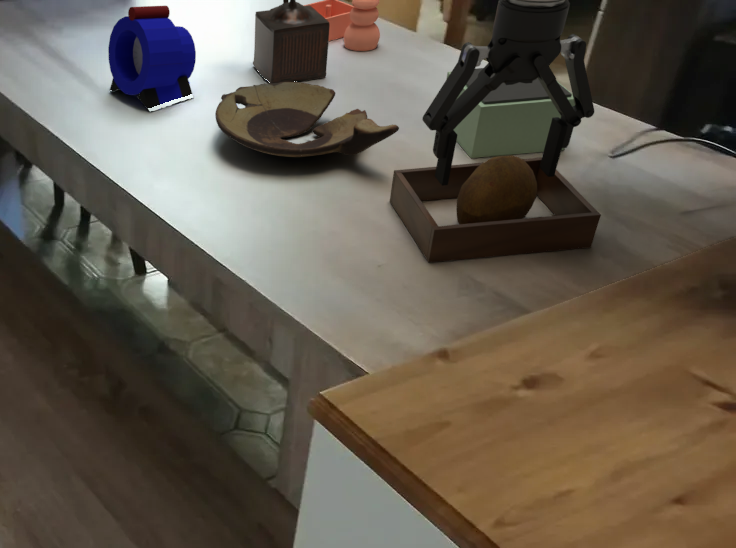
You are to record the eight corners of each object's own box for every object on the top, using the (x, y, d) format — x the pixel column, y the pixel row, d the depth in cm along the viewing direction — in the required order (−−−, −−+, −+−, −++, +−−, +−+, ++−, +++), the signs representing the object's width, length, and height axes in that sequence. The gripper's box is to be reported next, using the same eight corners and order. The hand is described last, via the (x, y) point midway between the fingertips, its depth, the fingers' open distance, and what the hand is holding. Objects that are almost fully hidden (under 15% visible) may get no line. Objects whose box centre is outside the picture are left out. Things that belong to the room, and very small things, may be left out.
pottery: (292, 30, 181) (295, -24, 174) (330, 20, 184) (335, -34, 177) (351, 56, 169) (357, -2, 162) (391, 45, 172) (399, -12, 165)
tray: (591, 247, 115) (601, 214, 112) (428, 262, 115) (434, 229, 112) (536, 187, 128) (544, 156, 125) (389, 201, 127) (393, 170, 124)
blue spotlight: (106, 93, 162) (99, 1, 152) (162, 75, 166) (160, -14, 156) (146, 113, 154) (142, 18, 144) (204, 94, 159) (204, 1, 149)
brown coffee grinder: (305, 57, 170) (312, -51, 158) (327, 78, 161) (336, -35, 149) (223, 68, 168) (225, -41, 156) (242, 89, 160) (244, -24, 148)
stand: (564, 150, 136) (579, 95, 131) (470, 158, 135) (481, 104, 130) (526, 113, 146) (538, 61, 141) (439, 120, 146) (448, 69, 141)
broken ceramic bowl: (310, 102, 154) (314, 54, 149) (417, 172, 133) (426, 119, 128) (189, 129, 148) (188, 81, 143) (280, 207, 127) (283, 153, 122)
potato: (427, 220, 122) (438, 157, 117) (499, 199, 126) (513, 137, 120) (469, 248, 116) (483, 183, 111) (544, 225, 120) (561, 161, 114)
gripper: (628, -22, 106) (577, 155, 120) (414, -6, 105) (388, 171, 119) (661, -2, 100) (604, 181, 114) (435, 15, 99) (406, 197, 114)
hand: (493, 176), depth 117 cm, fingers open, 13 cm apart
